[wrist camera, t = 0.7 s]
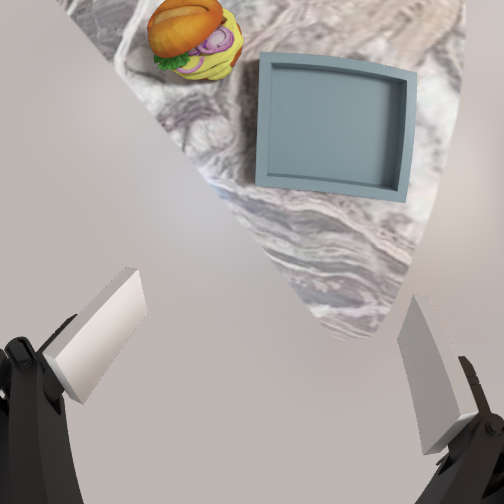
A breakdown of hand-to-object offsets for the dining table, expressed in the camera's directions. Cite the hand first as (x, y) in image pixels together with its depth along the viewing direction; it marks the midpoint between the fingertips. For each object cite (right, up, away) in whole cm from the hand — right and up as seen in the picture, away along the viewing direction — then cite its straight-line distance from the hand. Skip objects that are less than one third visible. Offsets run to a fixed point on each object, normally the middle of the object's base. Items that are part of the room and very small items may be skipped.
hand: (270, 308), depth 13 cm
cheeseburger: (-7, +28, +15) cm, 32 cm away
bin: (+9, +17, +17) cm, 25 cm away
